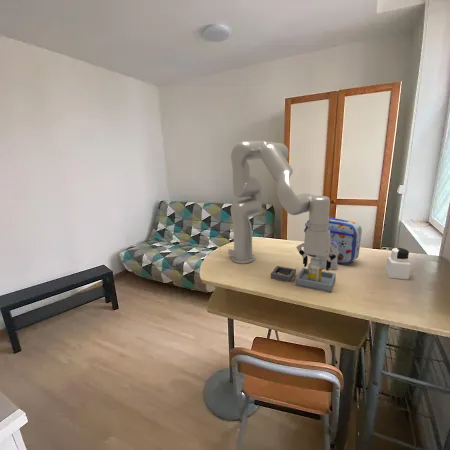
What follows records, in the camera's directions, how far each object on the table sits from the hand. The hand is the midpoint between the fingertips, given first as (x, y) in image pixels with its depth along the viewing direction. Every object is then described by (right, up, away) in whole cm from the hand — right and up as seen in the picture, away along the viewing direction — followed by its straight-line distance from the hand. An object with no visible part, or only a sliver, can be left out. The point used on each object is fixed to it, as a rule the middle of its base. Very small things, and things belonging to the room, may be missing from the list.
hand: (316, 267), depth 109 cm
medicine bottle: (+37, -4, +5) cm, 37 cm away
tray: (0, -7, +2) cm, 7 cm away
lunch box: (+16, 0, +26) cm, 31 cm away
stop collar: (-12, -5, +9) cm, 16 cm away
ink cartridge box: (+10, -3, +16) cm, 19 cm away
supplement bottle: (0, -6, +2) cm, 6 cm away
